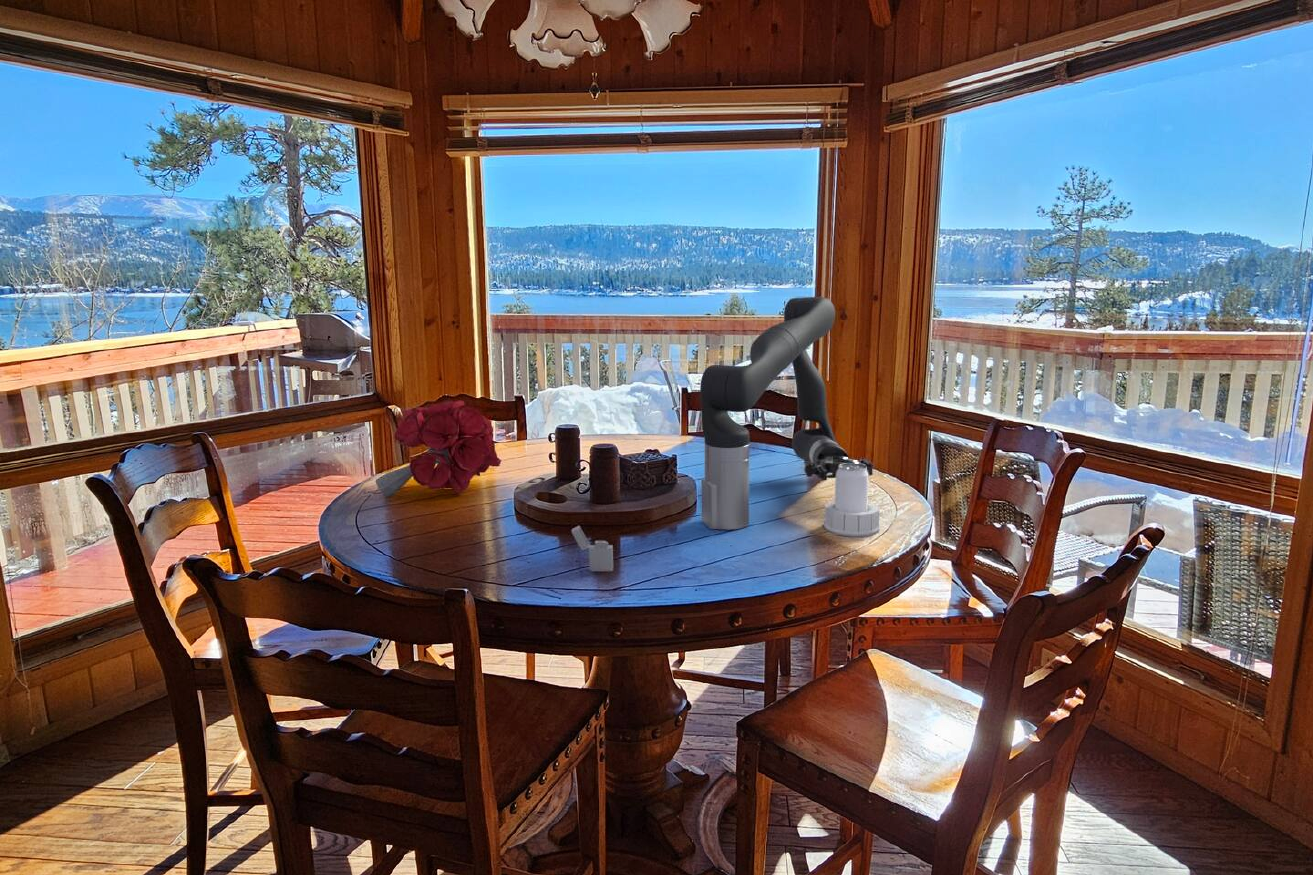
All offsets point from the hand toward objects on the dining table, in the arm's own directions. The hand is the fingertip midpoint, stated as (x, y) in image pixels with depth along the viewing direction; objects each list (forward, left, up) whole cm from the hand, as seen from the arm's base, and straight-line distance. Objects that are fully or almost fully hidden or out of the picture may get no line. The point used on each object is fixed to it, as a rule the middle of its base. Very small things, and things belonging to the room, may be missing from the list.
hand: (845, 475), depth 168 cm
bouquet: (-82, +50, -10) cm, 96 cm away
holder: (-2, -6, -9) cm, 11 cm away
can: (-2, -6, -9) cm, 11 cm away
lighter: (-57, -12, -10) cm, 59 cm away
